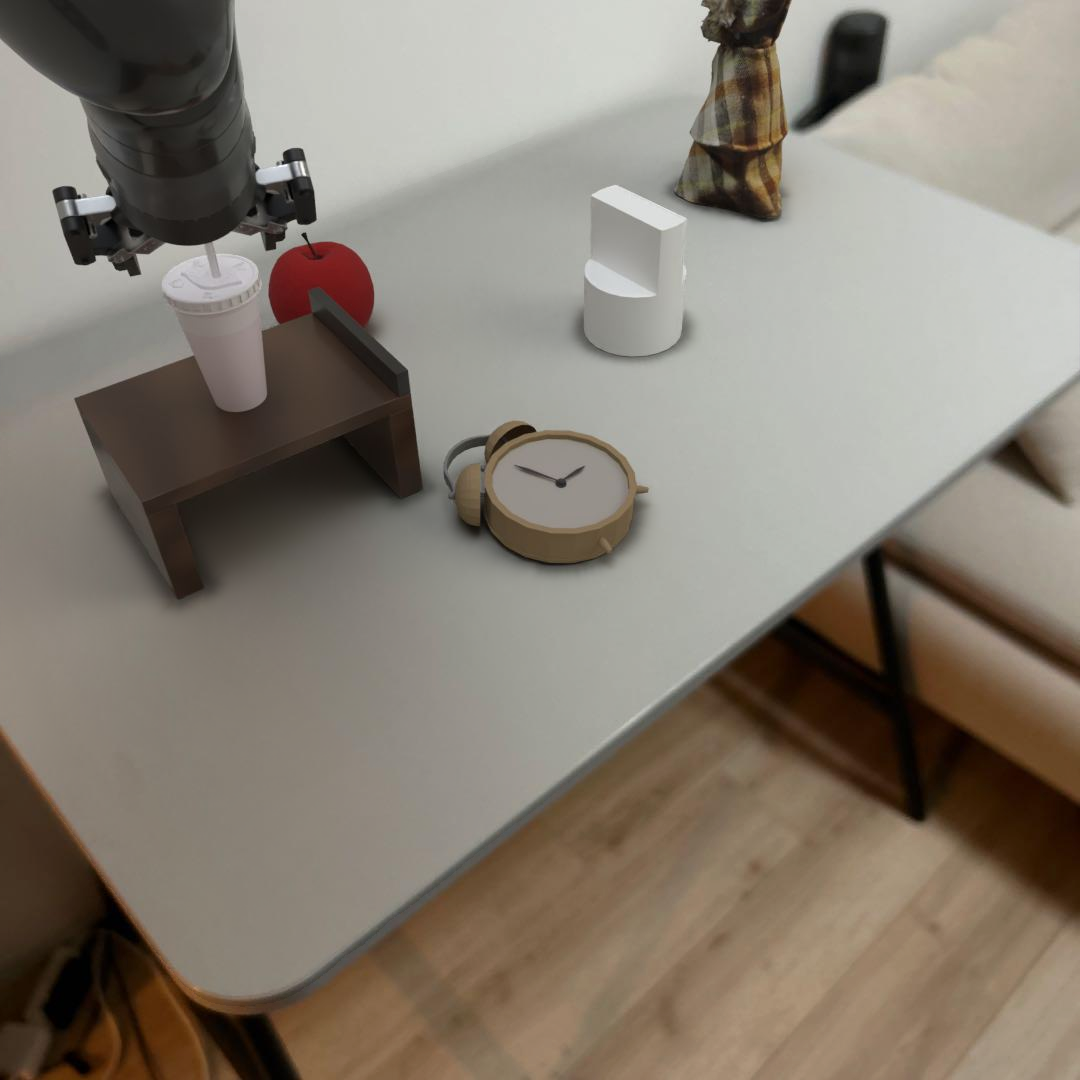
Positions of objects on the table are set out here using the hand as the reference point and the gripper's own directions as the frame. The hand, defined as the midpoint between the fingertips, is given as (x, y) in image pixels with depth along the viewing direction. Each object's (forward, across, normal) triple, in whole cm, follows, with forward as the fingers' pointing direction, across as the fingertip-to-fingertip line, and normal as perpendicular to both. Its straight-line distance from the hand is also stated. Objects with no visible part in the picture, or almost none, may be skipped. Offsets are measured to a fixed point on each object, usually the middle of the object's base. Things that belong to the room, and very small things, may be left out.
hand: (200, 248), depth 70 cm
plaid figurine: (+37, -56, -8) cm, 68 cm away
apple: (+29, -10, +1) cm, 31 cm away
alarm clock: (+8, -19, +22) cm, 30 cm away
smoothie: (+9, 0, +8) cm, 12 cm away
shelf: (+15, 0, +15) cm, 21 cm away
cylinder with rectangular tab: (+22, -36, +7) cm, 43 cm away
